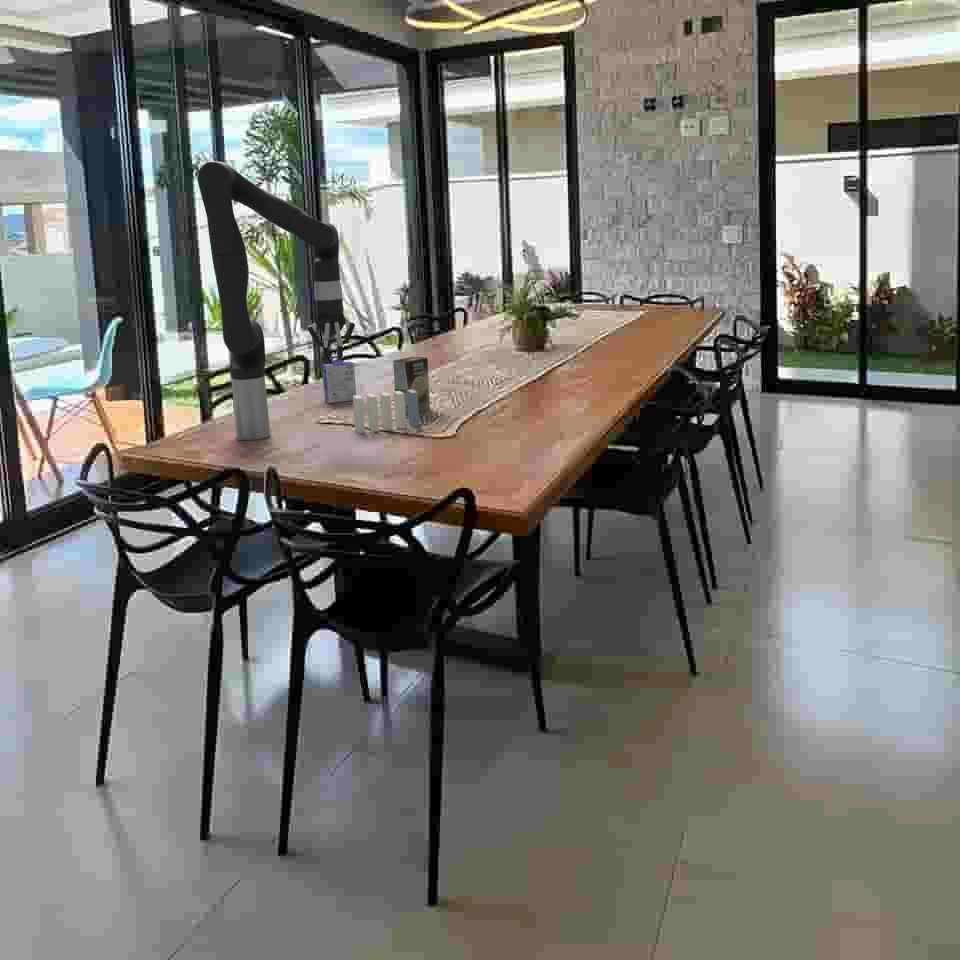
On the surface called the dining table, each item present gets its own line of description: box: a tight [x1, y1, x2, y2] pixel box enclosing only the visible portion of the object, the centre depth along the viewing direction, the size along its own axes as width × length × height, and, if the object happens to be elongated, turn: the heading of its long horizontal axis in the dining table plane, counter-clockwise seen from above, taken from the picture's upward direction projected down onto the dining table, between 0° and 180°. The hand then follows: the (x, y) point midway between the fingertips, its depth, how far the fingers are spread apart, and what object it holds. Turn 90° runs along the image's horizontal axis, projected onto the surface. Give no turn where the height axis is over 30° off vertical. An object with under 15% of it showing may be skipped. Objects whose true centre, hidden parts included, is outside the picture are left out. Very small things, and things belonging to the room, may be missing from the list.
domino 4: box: [393, 390, 407, 429], centre depth 315 cm, size 2×5×10 cm, turn 18°
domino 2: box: [365, 393, 380, 433], centre depth 312 cm, size 2×5×10 cm, turn 18°
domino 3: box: [379, 391, 394, 431], centre depth 314 cm, size 2×5×10 cm, turn 18°
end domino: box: [407, 390, 420, 428], centre depth 316 cm, size 2×5×10 cm, turn 18°
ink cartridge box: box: [321, 355, 357, 404], centre depth 356 cm, size 10×6×14 cm, turn 115°
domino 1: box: [352, 394, 366, 434], centre depth 311 cm, size 2×5×10 cm, turn 18°
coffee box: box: [392, 356, 431, 415], centre depth 335 cm, size 9×6×16 cm
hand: (333, 359), depth 305 cm, fingers open, 2 cm apart
